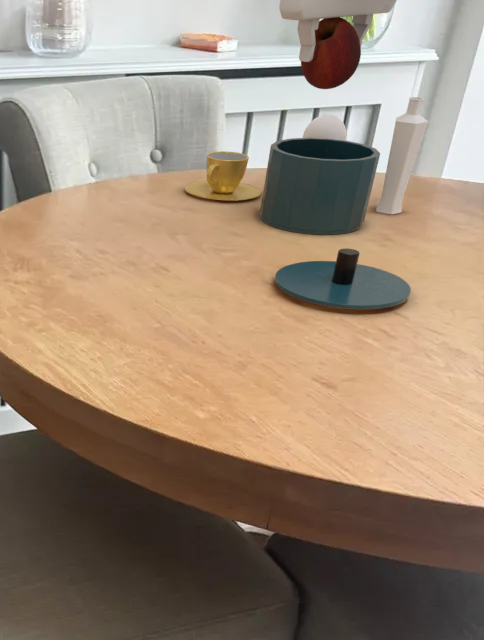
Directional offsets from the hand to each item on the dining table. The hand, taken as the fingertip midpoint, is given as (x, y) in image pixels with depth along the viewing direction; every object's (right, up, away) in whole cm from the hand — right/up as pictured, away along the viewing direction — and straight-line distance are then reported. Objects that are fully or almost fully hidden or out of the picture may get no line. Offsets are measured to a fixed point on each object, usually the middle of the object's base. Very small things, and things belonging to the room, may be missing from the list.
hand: (329, 58), depth 114 cm
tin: (+2, -15, +14) cm, 21 cm away
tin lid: (-2, -33, -10) cm, 35 cm away
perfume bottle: (+15, -12, +19) cm, 27 cm away
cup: (-9, -6, +25) cm, 27 cm away
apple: (0, -3, +2) cm, 4 cm away
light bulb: (+7, -5, +27) cm, 28 cm away
